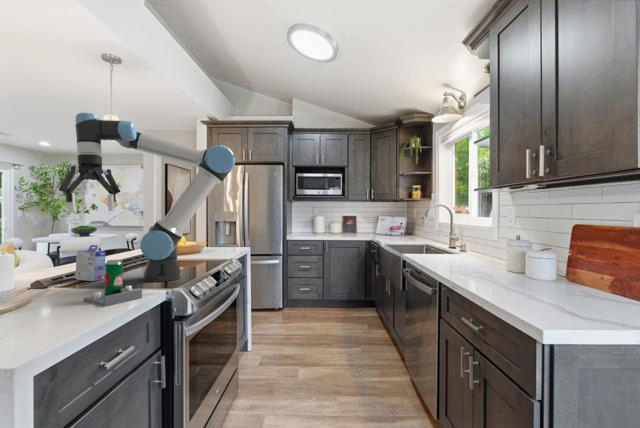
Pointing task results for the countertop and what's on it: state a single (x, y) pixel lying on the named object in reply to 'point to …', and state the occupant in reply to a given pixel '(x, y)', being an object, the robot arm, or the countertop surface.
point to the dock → (115, 297)
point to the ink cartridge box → (90, 264)
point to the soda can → (113, 277)
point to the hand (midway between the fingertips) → (92, 211)
